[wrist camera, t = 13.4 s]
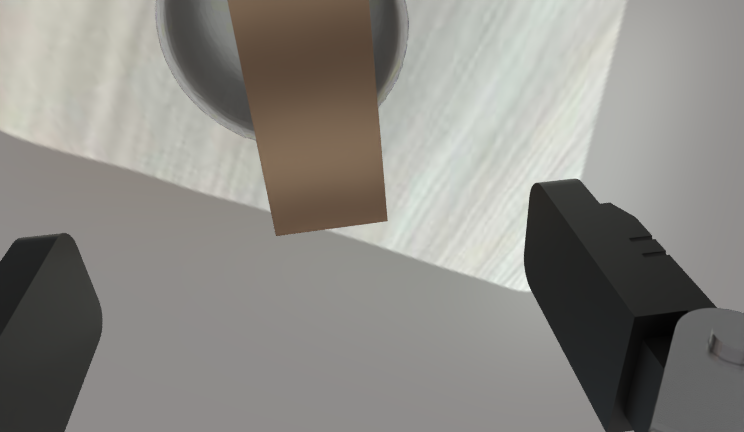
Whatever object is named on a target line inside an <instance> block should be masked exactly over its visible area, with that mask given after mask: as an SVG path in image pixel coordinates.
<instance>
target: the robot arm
mask: <svg viewBox="0 0 744 432" xmlns="http://www.w3.org/2000/svg"><path fill="white" fill-rule="evenodd" d="M524 266H525V273H526V277H527V281H528V284H529V287H530V289H531V291H532V293H533V294H534V296H535V298H536V300H537V302H538V304H539V306H540V308H541V310H542V311H543V314H544V315H545V317H546V319H547V321H548V323H549V325H550V327H551V329H552V331H553V332H554V334H555V336H556V338H557V340H558V342H559V344H560V346H561V348H562V350H563V352H564V353H565V355H566V357H567V359H568V361H569V363H570V365H571V367H572V369H573V371H574V372H575V374H576V376H577V378H578V380H579V382H580V384H581V386H582V388H583V390H584V391H585V393H586V395H587V397H588V399H589V401H590V403H591V405H592V407H593V409H594V411H595V412H596V414H597V416H598V418H599V420H600V422H601V424H602V426H603V427H604V429H605V431H606V432H625V431H632V430H634V432H744V313H741V312H738V311H734V310H729V309H721V308H717V307H716V306H715V305H714V304H713V303H712V302H711V301H710V300H709V298H708V297H707V296H706V295H705V294H704V293H703V292H702V291H701V289H700V288H699V287H698V286H697V285H696V284H695V283H694V282H693V281H692V279H691V278H689V276H688V275H687V274H686V273H685V272H684V271H683V269H682V268H681V267H680V266H679V265H678V264H677V263H676V262H675V261H674V260H673V258H672V257H671V256H670V255H666V251H665V250H664V248H663V247H662V246H661V245H660V244H659V243H658V242H657V241H656V239H652V235H651V234H650V233H649V232H648V231H647V229H646V228H645V227H644V226H643V225H642V224H641V223H640V222H639V221H638V219H636V218H635V217H634V216H632V215H631V214H629V213H627V212H625V211H624V210H622V209H620V208H618V207H617V206H615V205H613V204H611V203H603V204H600V203H599V202H598V201H597V200H596V199H595V197H594V196H593V195H592V194H591V193H590V192H589V190H588V189H587V188H586V187H585V186H584V184H583V183H582V182H581V181H580V180H578V179H568V180H559V181H550V182H541V183H535V184H534V185H533V186H532V188H531V192H530V197H529V208H528V218H527V228H526V238H525V249H524ZM101 332H102V311H101V306H100V303H99V300H98V297H97V295H96V293H95V290H94V287H93V285H92V282H91V280H90V277H89V275H88V272H87V270H86V267H85V265H84V262H83V260H82V257H81V255H80V252H79V250H78V247H77V245H76V243H75V241H74V239H73V238H72V237H71V236H70V235H69V234H67V233H61V234H52V235H43V236H34V237H25V238H19V239H17V240H15V241H14V243H13V244H12V245H11V247H10V248H9V250H8V251H7V253H6V254H5V256H4V257H3V258H2V260H1V261H0V432H64V431H65V429H66V426H67V424H68V421H69V418H70V416H71V413H72V411H73V408H74V405H75V403H76V400H77V397H78V395H79V392H80V390H81V387H82V384H83V382H84V379H85V377H86V374H87V371H88V369H89V366H90V364H91V361H92V358H93V356H94V353H95V350H96V348H97V345H98V342H99V340H100V337H101Z"/></svg>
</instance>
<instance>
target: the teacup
mask: <svg viewBox="0 0 744 432" xmlns="http://www.w3.org/2000/svg"><path fill="white" fill-rule="evenodd" d="M369 6H370V18H371V30H372V42H373V54H374V66H375V78H376V90H377V102H378V107H379V106H380V105H381V103H382V102H383V101H384V100H385V99H386V97H387V95H388V94H389V92H390V91H391V89H392V88H393V86H394V84H395V82H396V81H397V79H398V76H399V73H400V71H401V68H402V65H403V59H404V57H405V53H406V48H407V39H408V29H409V21H408V13H407V8H406V3H405V0H369ZM156 26H157V32H158V36H159V40H160V45H161V49H162V51H163V54H164V57H165V60H166V62H167V64H168V66H169V68H170V70H171V72H172V74H173V76H174V77H175V79H176V81H177V82H178V84H179V85H180V87H181V88H182V90H183V91H184V92H185V93H186V94H187V96H188V97H189V98H190V99H191V100H192V101H193V102H194V103H195V104H196V105H197V106H198V107H199V108H200V109H201V110H202V111H203V112H205V113H206V114H207V115H209V116H210V117H211V118H212V119H214V120H215V121H216V122H217V123H219V124H221V125H222V126H224V127H226V128H228V129H229V130H231V131H233V132H235V133H237V134H239V135H241V136H243V137H245V138H250V139H253V140H256V137H255V132H254V127H253V122H252V117H251V113H250V108H249V103H248V98H247V93H246V88H245V84H244V79H243V74H242V69H241V64H240V59H239V55H238V50H237V45H236V40H235V35H234V30H233V26H232V21H231V16H230V11H229V6H228V1H227V0H156Z"/></svg>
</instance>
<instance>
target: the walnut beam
mask: <svg viewBox="0 0 744 432" xmlns="http://www.w3.org/2000/svg"><path fill="white" fill-rule="evenodd" d="M227 1H228V6H229V11H230V16H231V21H232V26H233V30H234V35H235V40H236V45H237V50H238V55H239V59H240V64H241V69H242V74H243V79H244V84H245V88H246V93H247V98H248V103H249V108H250V113H251V117H252V122H253V127H254V132H255V137H256V142H257V146H258V151H259V156H260V161H261V166H262V171H263V175H264V180H265V185H266V190H267V195H268V200H269V204H270V209H271V214H272V218H273V224H274V228H275V233H276V236H280V235H287V234H295V233H301V232H310V231H317V230H325V229H332V228H339V227H347V226H354V225H362V224H369V223H377V222H384V221H387V209H386V197H385V185H384V173H383V161H382V149H381V138H380V126H379V114H378V102H377V90H376V78H375V66H374V54H373V42H372V30H371V18H370V6H369V0H227Z"/></svg>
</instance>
